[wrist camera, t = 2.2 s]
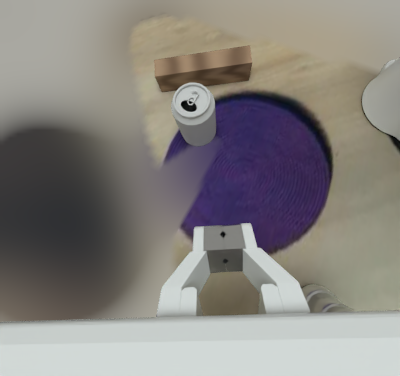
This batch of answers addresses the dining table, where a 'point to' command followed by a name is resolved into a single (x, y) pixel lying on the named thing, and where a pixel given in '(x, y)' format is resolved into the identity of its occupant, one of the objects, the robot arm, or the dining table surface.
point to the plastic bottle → (322, 300)
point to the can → (195, 113)
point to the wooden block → (204, 68)
